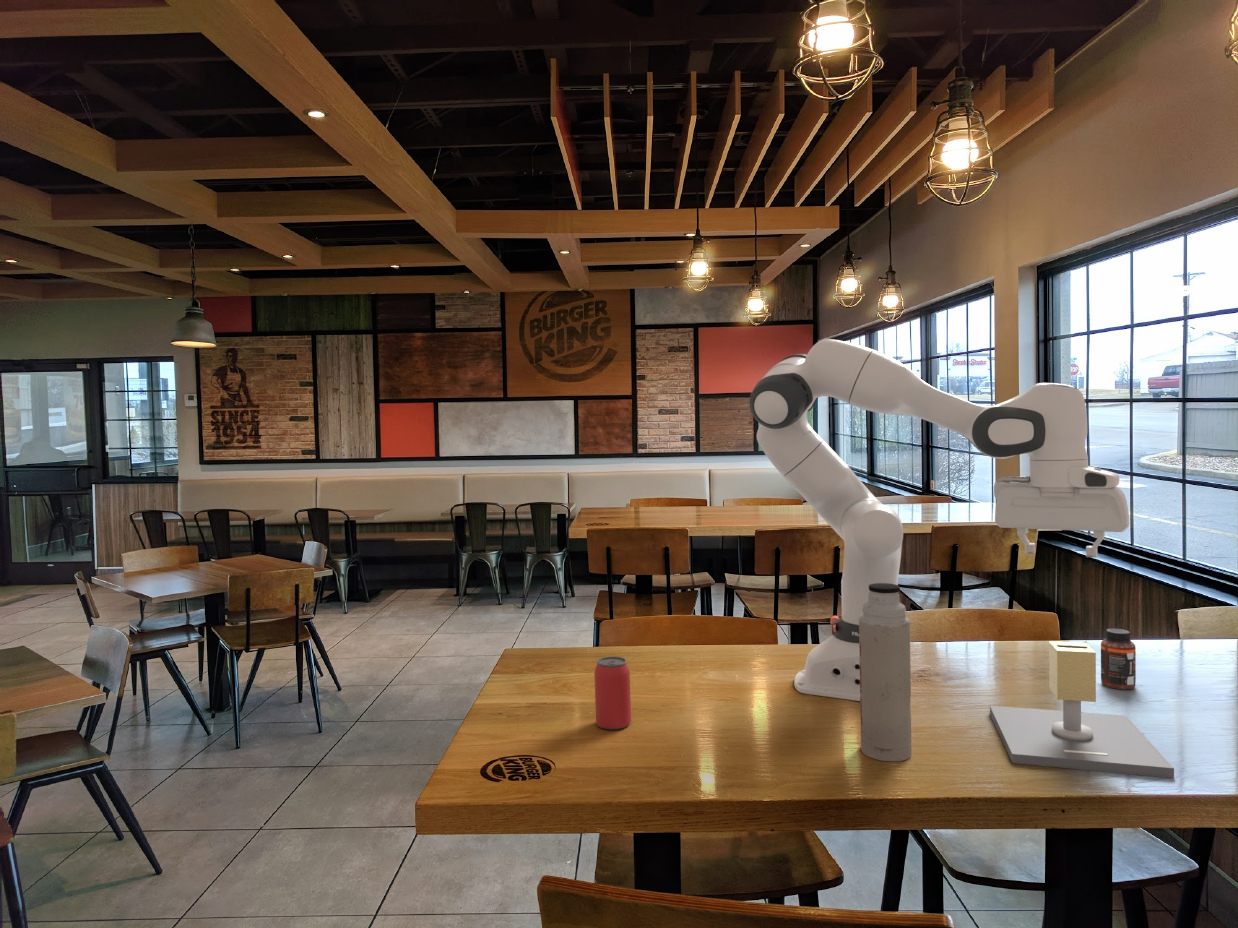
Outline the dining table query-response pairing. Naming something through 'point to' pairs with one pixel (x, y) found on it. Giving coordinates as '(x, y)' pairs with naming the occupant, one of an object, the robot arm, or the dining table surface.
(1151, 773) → the stud plate
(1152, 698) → the dining table surface
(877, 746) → the thermos bottle
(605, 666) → the beer can
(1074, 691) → the brushed gold block
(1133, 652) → the supplement bottle
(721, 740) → the dining table surface
